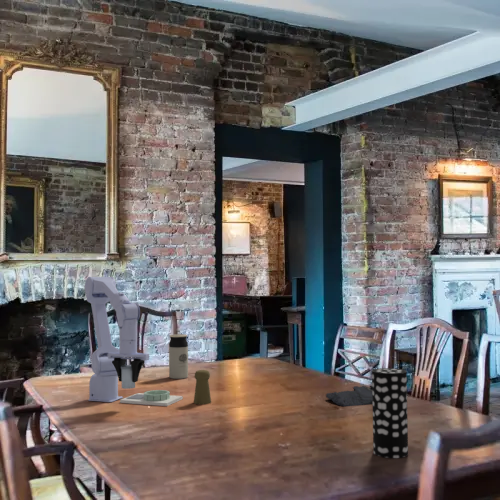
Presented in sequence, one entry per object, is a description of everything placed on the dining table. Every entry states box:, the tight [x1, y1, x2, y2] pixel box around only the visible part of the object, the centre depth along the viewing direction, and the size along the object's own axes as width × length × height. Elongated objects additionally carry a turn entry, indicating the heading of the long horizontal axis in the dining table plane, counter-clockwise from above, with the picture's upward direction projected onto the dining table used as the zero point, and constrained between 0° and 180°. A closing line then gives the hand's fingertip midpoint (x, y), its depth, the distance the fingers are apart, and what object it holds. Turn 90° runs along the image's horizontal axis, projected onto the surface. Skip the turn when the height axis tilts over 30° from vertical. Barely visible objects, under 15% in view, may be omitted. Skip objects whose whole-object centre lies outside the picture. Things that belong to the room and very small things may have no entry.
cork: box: [193, 369, 212, 405], centre depth 208 cm, size 6×6×11 cm
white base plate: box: [119, 389, 184, 407], centre depth 211 cm, size 18×12×3 cm, turn 70°
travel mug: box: [168, 333, 189, 380], centre depth 258 cm, size 8×8×18 cm
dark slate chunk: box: [325, 385, 373, 407], centre depth 209 cm, size 15×22×5 cm
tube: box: [121, 364, 136, 390], centre depth 200 cm, size 5×5×7 cm
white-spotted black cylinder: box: [371, 367, 409, 459], centre depth 149 cm, size 8×8×20 cm
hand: (128, 381), depth 200 cm, fingers closed on tube, 5 cm apart
